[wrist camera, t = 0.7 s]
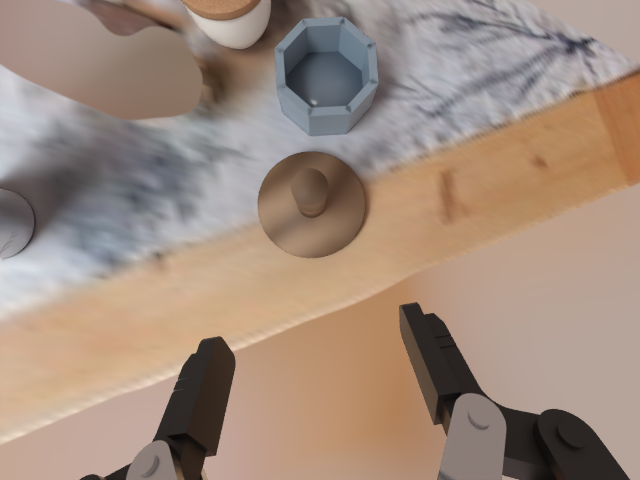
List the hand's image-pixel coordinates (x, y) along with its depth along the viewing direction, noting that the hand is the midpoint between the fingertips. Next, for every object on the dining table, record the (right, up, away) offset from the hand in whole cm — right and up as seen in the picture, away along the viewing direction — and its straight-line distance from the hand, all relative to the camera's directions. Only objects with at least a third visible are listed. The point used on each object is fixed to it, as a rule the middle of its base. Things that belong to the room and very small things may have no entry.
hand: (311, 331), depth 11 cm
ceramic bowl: (+1, +24, +24) cm, 34 cm away
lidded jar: (-11, +34, +24) cm, 43 cm away
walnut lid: (-1, +9, +23) cm, 25 cm away
